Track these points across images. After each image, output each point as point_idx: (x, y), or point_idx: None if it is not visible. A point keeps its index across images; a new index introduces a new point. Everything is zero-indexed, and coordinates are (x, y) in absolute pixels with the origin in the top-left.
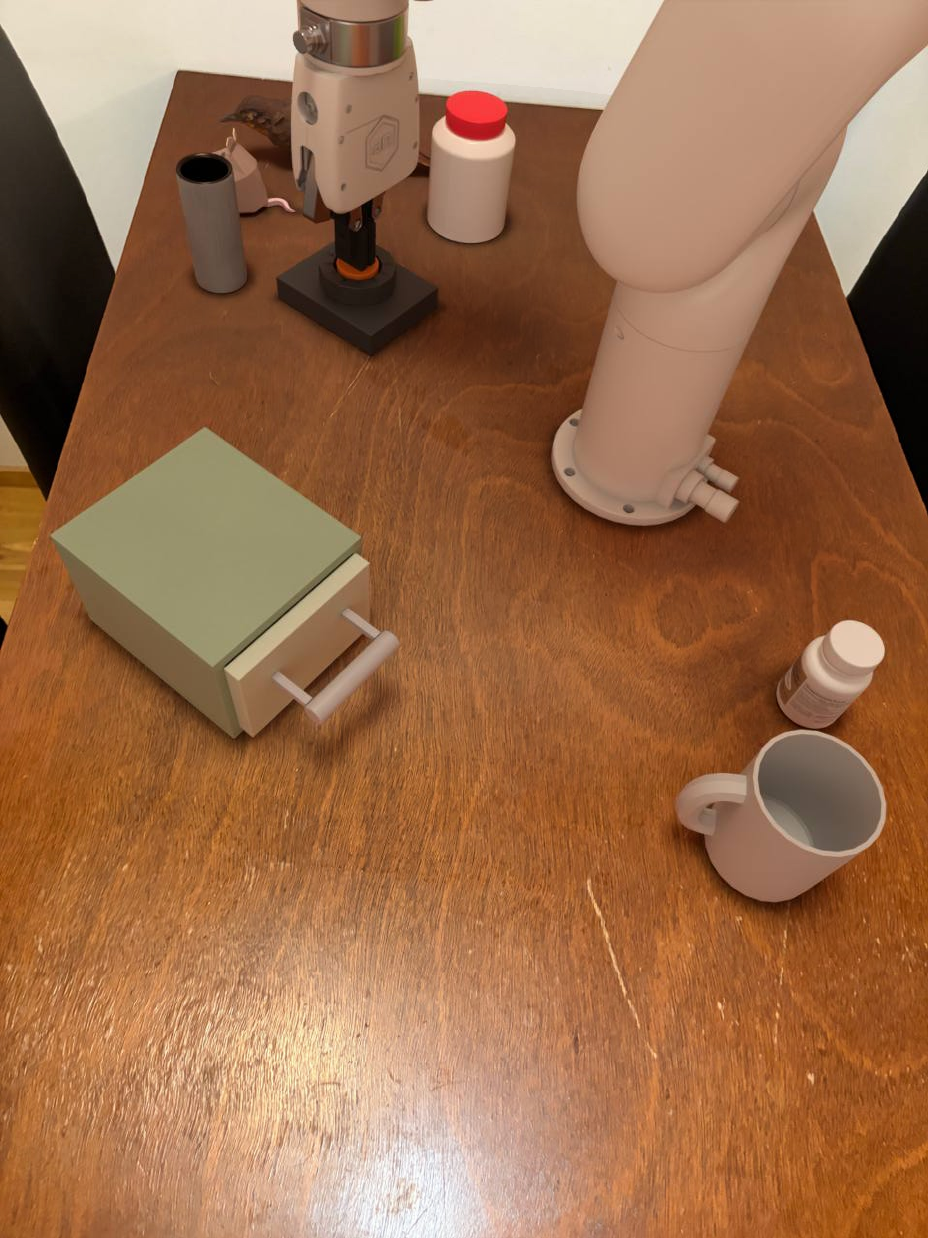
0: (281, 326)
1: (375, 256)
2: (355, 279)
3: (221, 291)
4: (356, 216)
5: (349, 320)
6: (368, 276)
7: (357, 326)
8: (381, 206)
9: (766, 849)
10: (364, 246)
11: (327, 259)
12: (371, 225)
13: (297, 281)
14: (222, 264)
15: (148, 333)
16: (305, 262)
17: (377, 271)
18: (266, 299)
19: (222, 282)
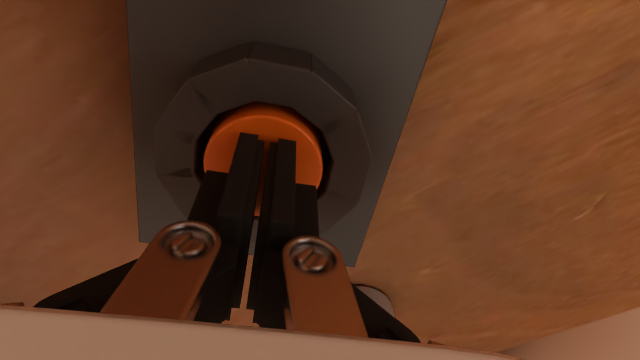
0: (417, 193)
1: (238, 140)
2: (316, 141)
3: (388, 299)
4: (321, 285)
5: (414, 82)
6: (290, 118)
7: (426, 52)
8: (155, 247)
9: None
10: (288, 181)
11: None
12: (242, 216)
13: (345, 235)
14: None
15: (512, 315)
16: None
17: (249, 110)
18: (362, 245)
19: (388, 311)
